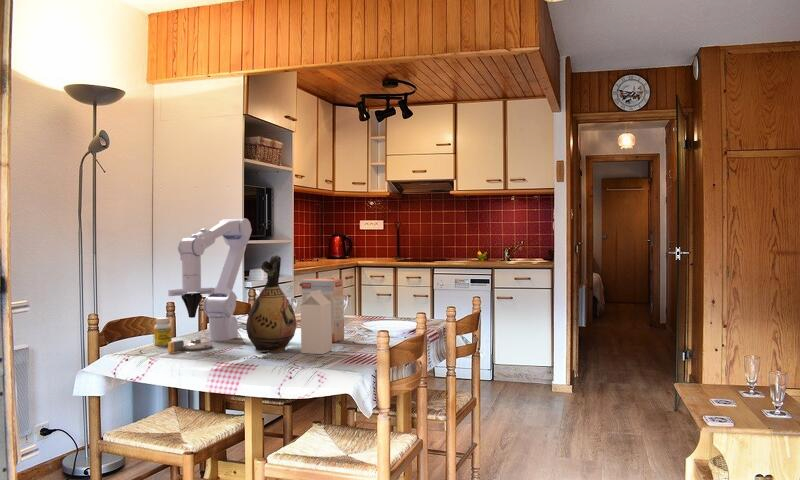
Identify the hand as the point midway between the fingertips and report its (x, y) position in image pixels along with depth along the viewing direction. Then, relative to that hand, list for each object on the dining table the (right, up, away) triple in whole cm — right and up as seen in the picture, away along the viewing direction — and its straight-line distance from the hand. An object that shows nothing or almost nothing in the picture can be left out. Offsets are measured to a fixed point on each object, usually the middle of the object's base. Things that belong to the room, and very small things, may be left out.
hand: (192, 317), depth 215 cm
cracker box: (+41, -10, +14) cm, 44 cm away
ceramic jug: (+27, -10, -3) cm, 29 cm away
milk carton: (+41, -10, -8) cm, 43 cm away
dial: (+1, -9, -4) cm, 10 cm away
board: (+2, -10, -3) cm, 11 cm away
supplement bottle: (-12, -11, +6) cm, 17 cm away
